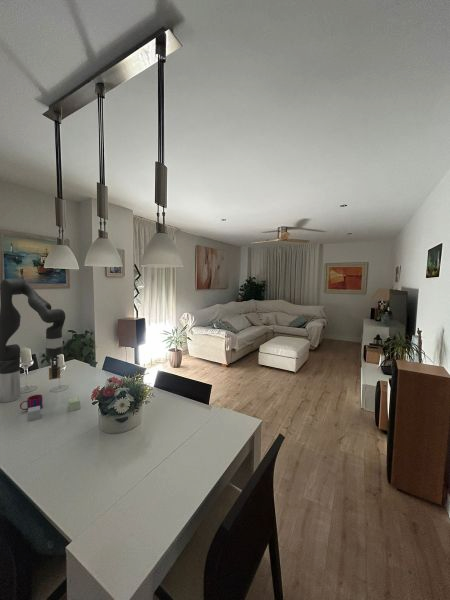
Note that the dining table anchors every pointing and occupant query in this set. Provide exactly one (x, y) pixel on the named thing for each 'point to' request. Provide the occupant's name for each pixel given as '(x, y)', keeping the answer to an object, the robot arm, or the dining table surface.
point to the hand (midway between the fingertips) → (54, 376)
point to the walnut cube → (51, 373)
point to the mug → (33, 401)
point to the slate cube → (33, 413)
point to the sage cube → (74, 404)
